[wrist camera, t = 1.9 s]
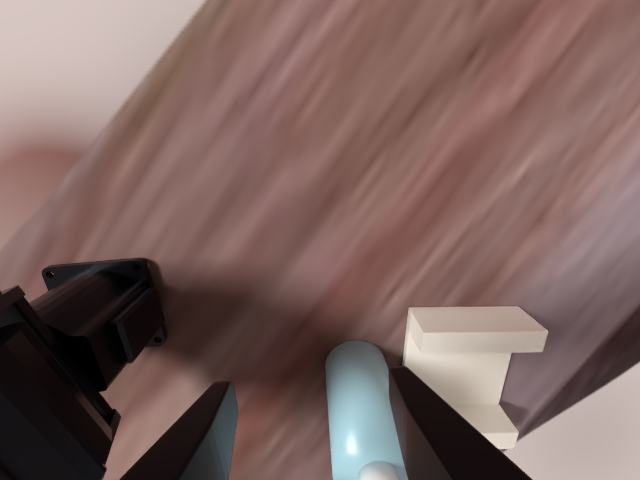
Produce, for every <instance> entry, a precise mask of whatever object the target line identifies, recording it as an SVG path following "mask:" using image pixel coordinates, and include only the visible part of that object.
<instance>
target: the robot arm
mask: <svg viewBox="0 0 640 480" xmlns="http://www.w3.org/2000/svg"><path fill="white" fill-rule="evenodd" d="M136 264H138V265H139V266H140V269H139V268H137V267H136ZM51 272H53V274H54V275H53V274H52V273H51ZM42 276H43V279H44V281H45V284H46V286H47V288H48V292H47V293H45V294H43V295H42V296H40V297H38V298H37V299H35V300H33V301H32V302H30V303H28V301H27V300H26V299H25V298H24V295H26V294H25V293H24V292H23V291H22V289H21V288H20V287H19V285H17V286H14V287H12V288H9V289H6V290H4V291H0V480H102V479H103V478H104V475H105V472H106V470H107V469H106V466H105V464H106V461H107V458H108V455H109V452H110V449H111V446H112V443H113V440H114V437H115V434H116V431H117V428H118V425H119V422H120V419H121V416H120V414H119V413H118V412H117V411H116V409H112V408H111V407H110V405H109V404H108V403H107V402H106V400H105V399H104V398H103V397H102V395H101V394H100V393H99V392H101V391H106V389H107V388H108V387H109V386H110V384H111V383H112V382H113V381H114V379H115V378H116V377H117V376H118V374H119V373H120V372H121V371H122V369H123V368H124V367H125V366H126V364H130V363H133V362H134V360H135V359H136V358H137V356H138V355H139V354H140V353H141V351H142V350H143V349H144V347H149V346H160V345H163V344H164V343H165V341H166V340H167V333H166V329H165V325H164V322H165V319H164V316H163V312H162V309H161V305H160V301H159V298H158V294H157V291H156V289H155V288H154V287H153V283H152V279H151V276H150V272H149V269H148V265H147V263H146V261H145V260H143V259H141V258H132V259H120V260H108V261H96V262H84V263H72V264H60V265H51V266H48V267H46V268H44V269H43V270H42ZM157 337H160V338H161V339H159V338H157ZM389 400H390V405H391V409H392V414H393V418H394V423H395V427H396V432H397V436H398V440H399V445H400V449H401V454H402V458H403V462H404V466H405V470H406V474H407V477H408V480H532V479H531V478H530V477H529V476H528V475H527V474H526V473H525V472H523V471H522V470H521V469H520V468H519V467H518V466H517V465H516V464H515V463H513V462H512V461H511V460H510V459H509V458H508V457H507V456H505V454H503V453H502V452H501V451H500V450H499V449H498V448H497V447H496V446H495V445H493V444H492V443H491V442H490V441H489V440H488V439H487V438H486V437H485V436H483V435H482V434H481V433H480V432H479V431H478V430H477V429H476V428H474V427H473V426H472V425H471V424H470V423H469V422H468V421H467V420H466V419H464V418H463V417H462V416H461V415H460V414H459V413H458V412H457V411H456V410H454V409H453V408H452V407H451V406H450V405H449V404H448V403H447V402H446V401H444V400H443V399H442V398H441V397H440V396H439V395H438V394H437V393H436V392H434V391H433V390H432V389H431V388H430V387H429V386H428V385H427V384H426V383H424V382H423V381H422V380H421V379H420V378H419V377H418V376H417V375H416V374H414V373H413V372H412V371H411V370H410V369H409V368H408V367H406V366H396V367H391V368H390V369H389ZM237 419H238V405H237V400H236V395H235V391H234V386H233V383H232V382H231V381H220V382H215V383H213V384H212V385H211V386H210V387H209V388H208V389H207V390H206V391H205V392H204V393H203V394H202V395H201V396H200V397H199V399H198V400H197V401H196V402H195V403H194V404H193V405H192V406H191V407H190V408H189V409H188V410H187V411H186V412H185V413H184V414H183V415H182V416H181V417H180V418H179V419H178V420H177V421H176V422H175V423H174V424H173V425H172V426H171V427H170V428H169V429H168V430H167V431H166V432H165V433H164V434H163V435H162V436H161V437H160V439H159V440H158V441H157V442H156V443H155V444H154V445H153V446H152V447H151V448H150V449H149V450H148V451H147V452H146V453H145V454H144V455H143V456H142V457H141V458H140V459H139V460H138V461H137V462H136V463H135V464H134V465H133V466H132V467H131V468H130V469H129V470H128V471H127V472H126V473H125V474H124V475H123V476H122V477H121V479H120V480H229V474H230V467H231V460H232V454H233V447H234V440H235V433H236V426H237Z"/></svg>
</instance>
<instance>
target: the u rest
mask: <svg viewBox="0 0 640 480" xmlns="http://www.w3.org/2000/svg"><path fill="white" fill-rule="evenodd" d="M548 332H549V331H548V330H546V329H545V328H544V327H543V326H542V325H540V324H539V323H538V322H537V321H535V320H534V319H533V318H532V317H531V316H529V315H528V314H527V313H526V312H524V311H523V310H522V309H521V308H520V307H518V306H496V307H409V311H408V319H407V328H406V336H405V345H404V353H403V362H402V366H406V367H408V368H409V369H410V370H411V371H412V372H413V373H414V374H416V375H417V376H418V377H419V378H420V379H421V380H422V381H423V382H424V383H426V384H427V385H428V386H429V387H430V388H431V389H432V390H433V391H434V392H436V393H437V394H438V395H439V396H440V397H441V398H442V399H443V400H444V401H446V402H447V403H448V404H449V405H450V406H451V407H452V408H453V409H454V410H456V411H457V412H458V413H459V414H460V415H461V416H462V417H463V418H464V419H466V420H467V421H468V422H469V423H470V424H471V425H472V426H473V427H474V428H476V429H477V430H478V431H479V432H480V433H481V434H482V435H483V436H485V437H486V438H487V439H488V440H489V441H490V442H491V443H492V444H493V445H495V446H496V447H497V448H498V449H514V447H515V444H516V441H517V437H518V434H519V432H518V431H517V429H516V428H515V426H514V425H513V424H512V422H511V421H510V419H509V418H508V416H507V415H506V414H505V412H504V411H503V409H502V408H501V407H500V405H499V401H500V397H501V393H502V389H503V385H504V381H505V377H506V373H507V369H508V365H509V361H510V358H511V354H512V353H526V352H543V349H544V345H545V342H546V339H547V335H548Z"/></svg>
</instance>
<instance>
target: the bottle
mask: <svg viewBox="0 0 640 480" xmlns="http://www.w3.org/2000/svg"><path fill="white" fill-rule="evenodd" d="M325 374H326V389H327V403H328V417H329V431H330V446H331V460H332V474H333V480H408V477H407V474H406V470H405V466H404V462H403V458H402V454H401V449H400V445H399V440H398V436H397V432H396V427H395V423H394V418H393V414H392V409H391V405H390V400H389V370H388V367H387V364H386V362H385V359H384V356H383V354H382V352H381V351H380V349H379V348H378V347H376V346H375V345H373V344H372V343H369V342H366V341H362V340H352V341H347V342H344V343H342V344H340V345H338V346H336V347H335V348H334V349H333V350H332V351H331V352H330V353H329V355H328V357H327V359H326V362H325Z"/></svg>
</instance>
